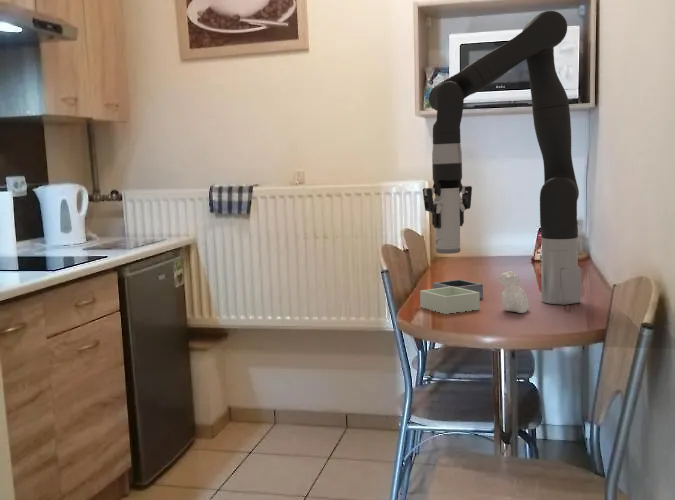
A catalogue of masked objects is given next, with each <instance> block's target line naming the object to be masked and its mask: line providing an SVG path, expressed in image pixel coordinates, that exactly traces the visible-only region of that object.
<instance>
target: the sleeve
mask: <svg viewBox="0 0 675 500" xmlns="http://www.w3.org/2000/svg"><path fill="white" fill-rule="evenodd" d="M451 286H454V287H458V288H463V289H467V290H471V291H475V292H479V295H480V300H482V299H484V284H483V283H479V282H476V281H475V282H474V281H469V280H464V279H453V280H444V281H436V282H432V289H436V288H444V287H451Z"/></svg>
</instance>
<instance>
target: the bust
mask: <svg viewBox="0 0 675 500" xmlns="http://www.w3.org/2000/svg"><path fill="white" fill-rule="evenodd" d="M498 279H499V283H500V284H501V285H505V288H504V290H503V291H502V292H501V305H502V306H503V308H504V309H505V310H506V311H507V312H514V313H519V314H523V313H524V314H526V313H527V311H528V310H529V309H530V301H529V298H528V297H527V295H526V292H525V290H524V289H523V288H521V286H519V285H518V284H519V283H520V276H519V275H517V274H516V273H515V272H513V271H511V270H509V271H507V272H506V271H503V272H502V273H501V274H500V276H499V278H498Z"/></svg>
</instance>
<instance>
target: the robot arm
mask: <svg viewBox="0 0 675 500" xmlns="http://www.w3.org/2000/svg"><path fill="white" fill-rule="evenodd" d="M567 32H568V23H567V20H566V17H565V16H564V15H562V14H561V13H560V12H559V11H554V10H547V11H543V12H540V13H539V14H537V15H535V16H534V17H531V18H530V19H529V20H528V21H527V22H526V23H525V24H524V26H523V29H522V31H521V32H520V33H519V34H517V35H516V36H514V37H513V38H512V39H510V40H508V41H507V42H505V43H503V44H502V45H500V46H498V47H496V48H494V49H493V50H491V51H489V52H487V53H485V54H483V55H482V56H480V57H479V58H477V59H475V61H473V62H471V63H470V64H468V65H467V66H465V67H464V68H463V69H462V70H460V71H458V72H457V73H456V74H453V75H452V76H450V77H448V78H446V79H445V80H443V81H441V82H439V83H438V84H436V85H435V86H434V87H433V88H432V89H431V90H430V92H429V94H428V103H429V105H430V107H431V109H433V110H434V111H436V121H435V122H434V124H433V126H432V152H431V160H432V162H431V163H432V164H431V165H432V166H431V167H432V181H433V185H432V187H424V188H423V189H422V195H423V197H422V198H423V205H424V210H425V212H429V213H431V220H432V221H431V224H432V226H433V228H434V229H436V228H441V214H439V213H440V211H441V206H442V205H443V197H442V198H441V200H440V201H436V200H435V197H433V196H435V195H436V193H437V194H438V196H440V195H441V183H440V181H441V180H443V181H457V180H459V198H460V227H463V225H464V223H465V216H464V215H465V211H466V210H469V209H471V205H472V195H473V194H472V191H473V186H471V185H463V184H462V179H463V153H462V146H461V144H462V143H461V139H462V138H461V123H462V118H463V112H464V105H465V103H464V102H465V99H466V98H467V97H469V96H472V95H473V94H477V93H479V92H480V91H483V89H485V88H486V87H488V86H489V85H490V84H491V85H492V83H494V82H495V81H496V80H498V79H500V78H501V77H503V75H505V74H506V73H508V72H510V71H511V70H512V69H514V68H515V67H516V66H518V65H519V64H520V63H522V62H524V61H525V62H526V64H527V65H526V66H527V71H528V77H529V87H530V97H531V107H532V117H533V125H534V126H533V127H534V130H535V131H534V132H535V135H536V140H537V142H538V143H537V144H538V146H539V149H540V153H541V156H542V160H543V161H542V162H543V177H544V178H543V179H544V180H543V181H544V182H543V184H542V186H541V188H540V192H539V224H540V225H539V226H540V230H541V231H540V232H541V233H540V234H541V302H543V303H546V304H552V305H561V306H562V305H563V306H564V305H571V304H572V305H573V304H578V303H581V299H582V298H581V289H582V288H581V287H582V286H581V279H582V278H581V277H582V276H581V274H582V273H581V272H582V271H581V270H582V269H581V267H580V265H578V263H579V262H578V259H579V249H578V248H579V247H578V246H579V243H578V242H579V227H578V226H579V225H578V200H579V195H580V192H579V185H578V183H577V177H576V174H575V170H574V164H573V159H572V158H573V156H572V122H571V112H570V111H571V110H570V103H569V102H570V101H569V98H568V95H567V92H566V90H565V88H564V86H563V84H562V82H561V79H560V78H559V76H558V74H557V70H556V66H555V65H556V64H555V54H554V53H555V52H554V51H555V47H557V46H559V44H561V42H563V40H565V38H566V36H567ZM460 194H462V195H460ZM437 204H438V205H437ZM436 205H437V207H436Z"/></svg>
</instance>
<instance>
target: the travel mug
mask: <svg viewBox="0 0 675 500" xmlns="http://www.w3.org/2000/svg"><path fill="white" fill-rule="evenodd" d="M440 183H441V195H440V196H438V194H437V193H436V195H435V194H434V198H435V200H436V201H440V200H441V198H442V197H443V205H442V206H441V211H440V213H439V214H441V228H435V252H436V253H437V254H444V255H445V254H447V255H449V254H450V255H451V254H458V253H460V252H461V226H460V198H459V180H457V181H443V180H441V181H440ZM437 205H438V204H437ZM437 205H436V207H437Z"/></svg>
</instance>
